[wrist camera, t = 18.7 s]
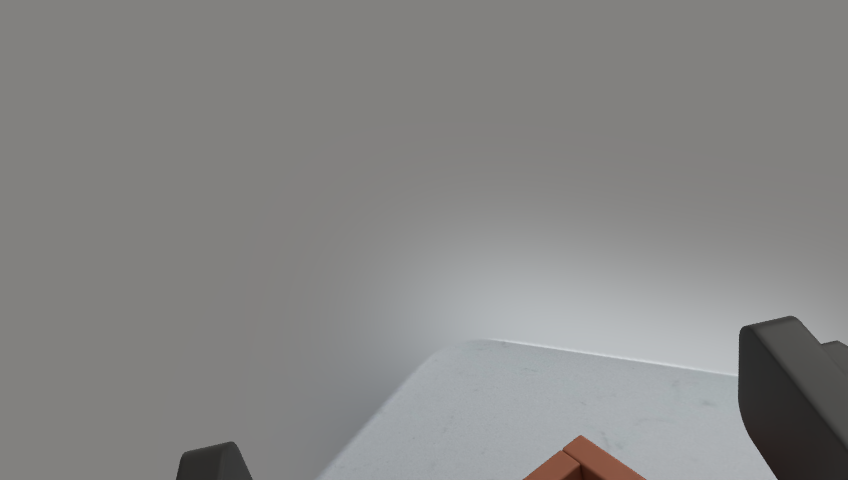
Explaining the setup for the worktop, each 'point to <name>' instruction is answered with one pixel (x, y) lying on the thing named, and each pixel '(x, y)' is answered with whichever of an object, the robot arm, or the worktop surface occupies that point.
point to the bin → (583, 464)
